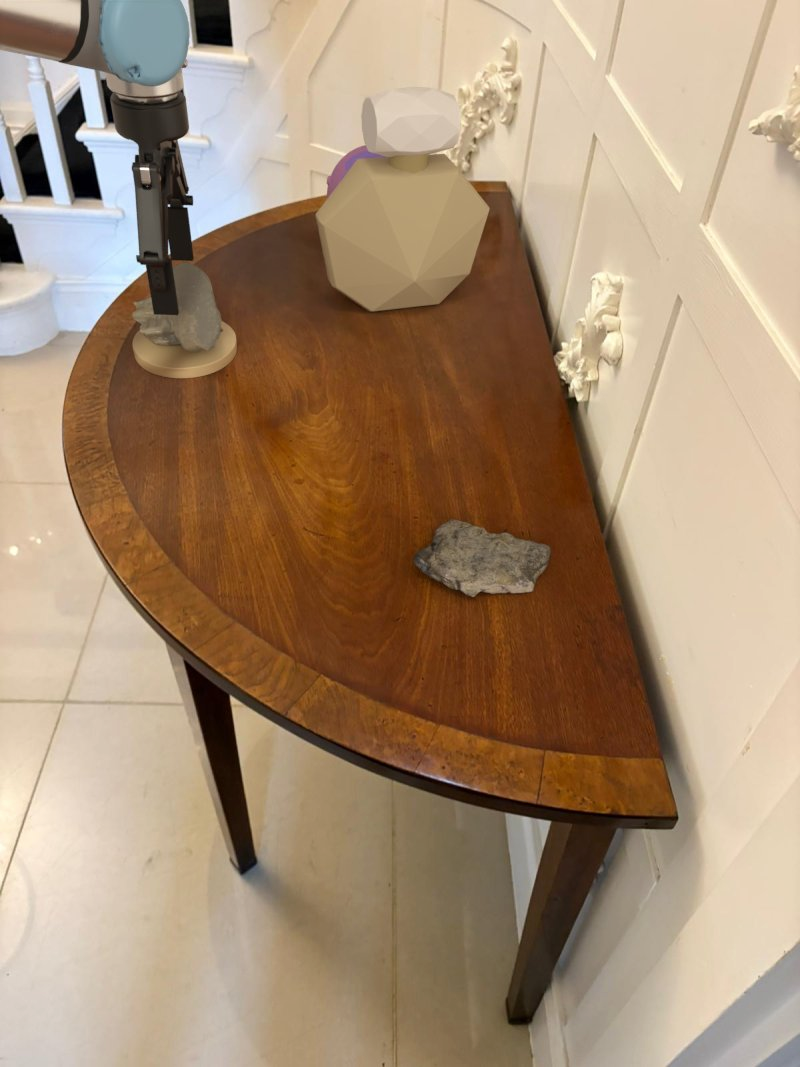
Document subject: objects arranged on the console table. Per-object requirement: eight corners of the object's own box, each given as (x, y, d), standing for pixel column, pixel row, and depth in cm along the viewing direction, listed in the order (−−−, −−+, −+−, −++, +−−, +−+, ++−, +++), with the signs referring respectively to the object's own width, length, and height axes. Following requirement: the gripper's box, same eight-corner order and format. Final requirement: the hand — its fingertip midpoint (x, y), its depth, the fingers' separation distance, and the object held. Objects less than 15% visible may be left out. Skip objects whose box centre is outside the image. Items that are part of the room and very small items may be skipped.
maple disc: (125, 377, 97) (123, 367, 96) (143, 322, 106) (141, 312, 105) (232, 379, 98) (231, 369, 97) (241, 325, 107) (240, 315, 106)
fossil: (199, 339, 108) (124, 320, 103) (220, 265, 103) (143, 242, 98) (221, 381, 97) (138, 362, 92) (245, 300, 93) (159, 276, 88)
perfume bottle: (489, 310, 114) (523, 99, 94) (329, 328, 108) (328, 106, 88) (459, 271, 122) (484, 68, 102) (308, 286, 116) (303, 74, 96)
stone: (549, 552, 80) (555, 532, 78) (539, 615, 74) (545, 596, 72) (415, 524, 82) (417, 503, 80) (395, 583, 76) (396, 563, 74)
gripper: (166, 135, 72) (193, 340, 87) (199, 60, 90) (217, 240, 104) (82, 131, 71) (123, 338, 86) (131, 56, 89) (159, 238, 104)
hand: (174, 285), depth 95 cm, fingers open, 13 cm apart
